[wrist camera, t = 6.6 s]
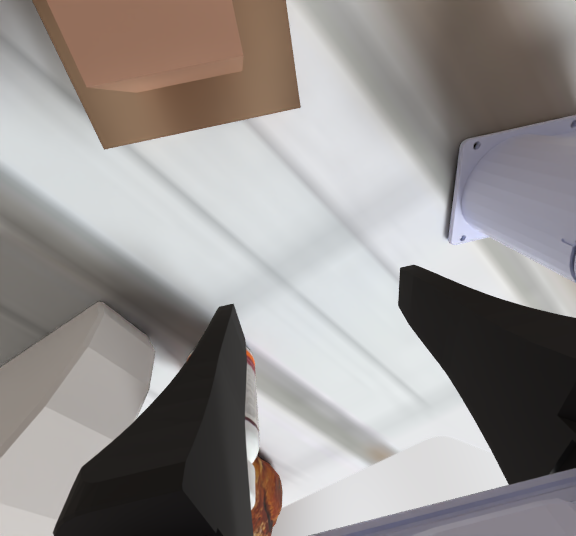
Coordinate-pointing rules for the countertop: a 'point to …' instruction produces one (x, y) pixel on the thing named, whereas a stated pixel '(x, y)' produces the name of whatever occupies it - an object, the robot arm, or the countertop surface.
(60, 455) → the soap bottle
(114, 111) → the walnut base
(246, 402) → the pill bottle
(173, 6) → the terracotta block
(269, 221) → the countertop surface
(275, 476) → the bread
